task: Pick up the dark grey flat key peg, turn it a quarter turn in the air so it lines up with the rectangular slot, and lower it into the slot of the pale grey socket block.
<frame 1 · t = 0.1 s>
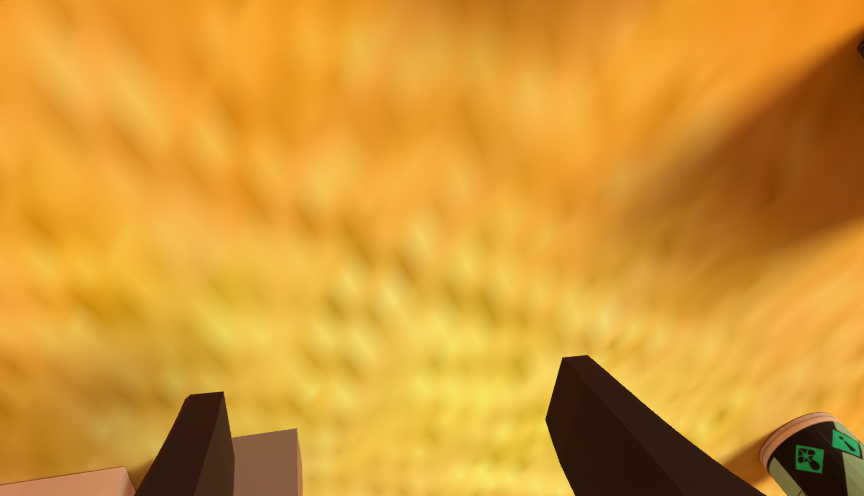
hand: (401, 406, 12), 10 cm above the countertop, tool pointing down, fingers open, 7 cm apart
spray can: (795, 438, 37), on the countertop
key peg: (242, 454, 26), on the countertop
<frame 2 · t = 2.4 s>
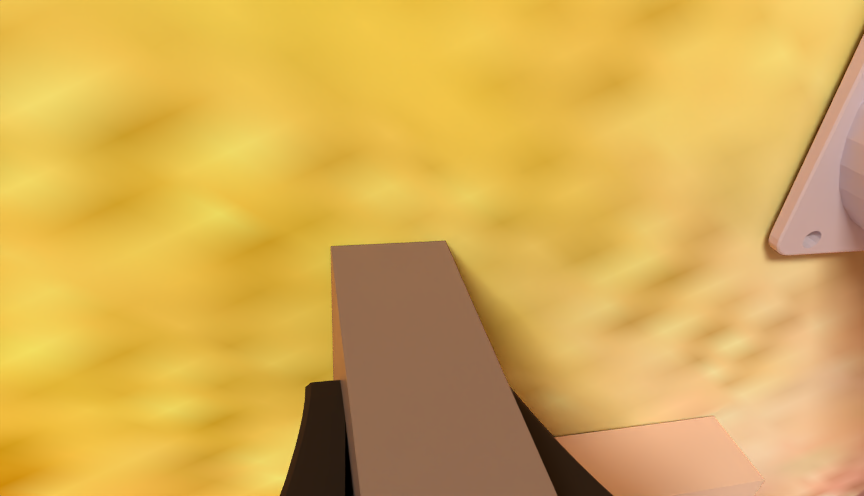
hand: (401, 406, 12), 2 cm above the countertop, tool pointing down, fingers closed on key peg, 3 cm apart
key peg: (385, 331, 14), on the countertop, touching gripper
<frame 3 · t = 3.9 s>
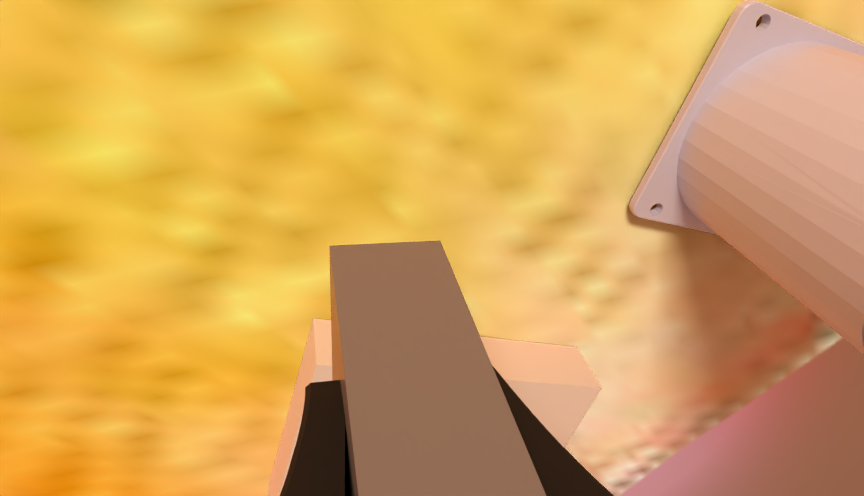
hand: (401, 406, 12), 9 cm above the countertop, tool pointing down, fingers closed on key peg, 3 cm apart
key peg: (382, 327, 14), point 6 cm above the countertop, touching gripper
socket block: (421, 416, 26), on the countertop
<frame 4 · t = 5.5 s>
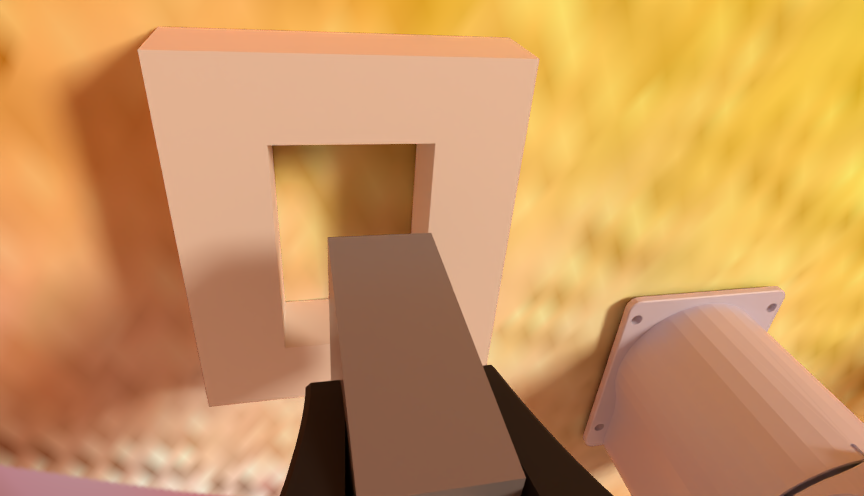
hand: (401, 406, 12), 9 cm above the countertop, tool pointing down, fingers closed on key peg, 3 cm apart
key peg: (377, 314, 15), point 5 cm above the countertop, touching gripper
socket block: (346, 214, 19), on the countertop
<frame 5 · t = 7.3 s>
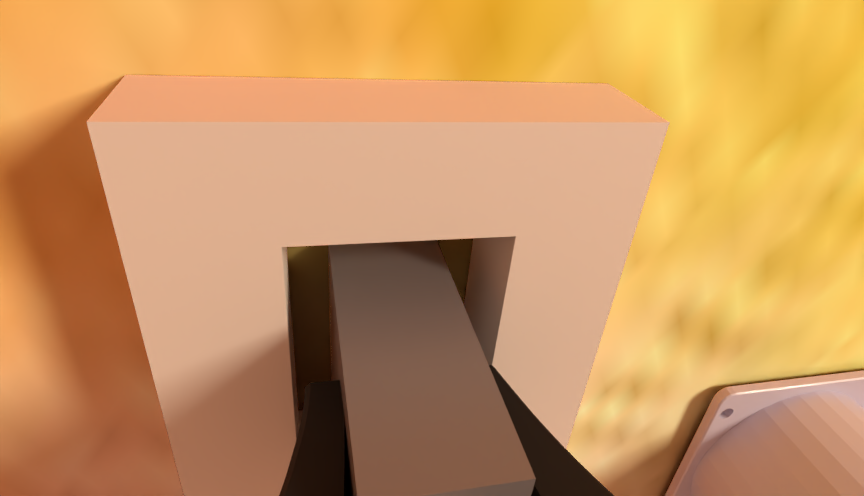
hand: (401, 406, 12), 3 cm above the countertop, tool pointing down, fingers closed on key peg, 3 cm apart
key peg: (378, 318, 15), resting in socket block, touching gripper
socket block: (381, 307, 15), on the countertop
when the fingers open (3 cm above the countertop, at t = 8.2 s): key peg stays where it is, resting in socket block.
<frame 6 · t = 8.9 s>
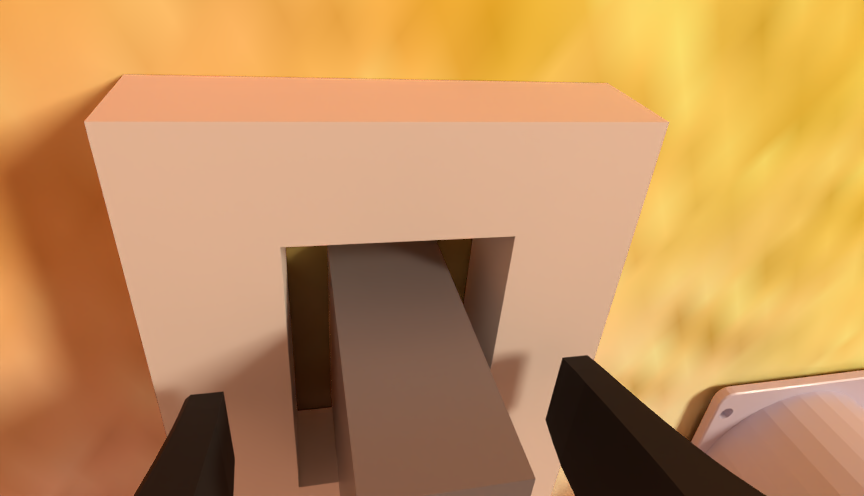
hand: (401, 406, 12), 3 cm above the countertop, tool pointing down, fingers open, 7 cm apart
key peg: (378, 317, 15), resting in socket block
socket block: (380, 307, 15), on the countertop
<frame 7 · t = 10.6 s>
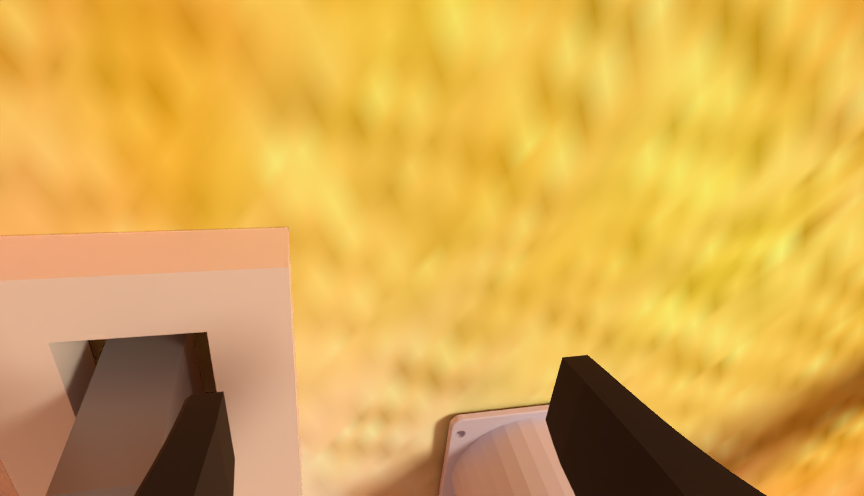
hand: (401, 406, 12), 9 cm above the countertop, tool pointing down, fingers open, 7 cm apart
key peg: (164, 371, 22), resting in socket block
socket block: (162, 364, 22), on the countertop
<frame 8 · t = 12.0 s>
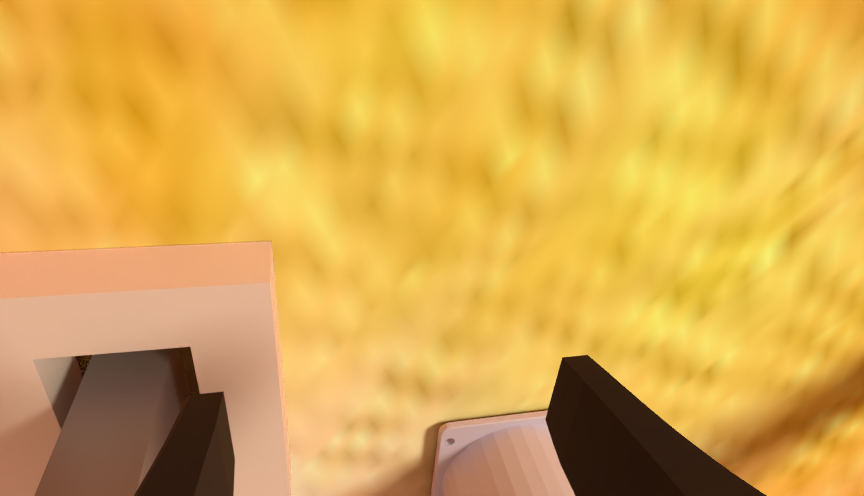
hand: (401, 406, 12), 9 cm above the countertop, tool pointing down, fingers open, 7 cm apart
key peg: (151, 383, 22), resting in socket block
socket block: (150, 377, 22), on the countertop
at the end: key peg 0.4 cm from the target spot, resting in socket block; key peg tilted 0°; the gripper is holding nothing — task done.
